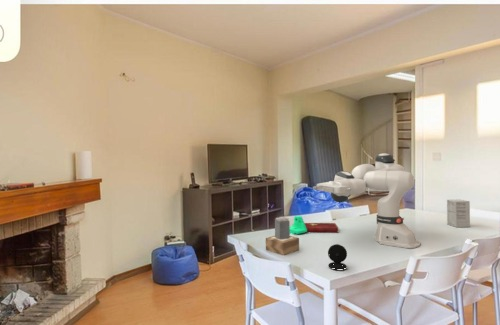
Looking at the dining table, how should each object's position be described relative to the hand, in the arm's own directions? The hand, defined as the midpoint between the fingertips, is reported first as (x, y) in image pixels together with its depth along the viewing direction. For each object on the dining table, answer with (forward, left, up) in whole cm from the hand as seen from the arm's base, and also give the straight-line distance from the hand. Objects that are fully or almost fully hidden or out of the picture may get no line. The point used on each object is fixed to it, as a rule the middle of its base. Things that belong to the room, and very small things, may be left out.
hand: (319, 189), depth 161 cm
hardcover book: (+18, -27, -31) cm, 45 cm away
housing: (+9, +20, -24) cm, 32 cm away
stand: (+9, +20, -30) cm, 37 cm away
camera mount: (+26, -12, -30) cm, 42 cm away
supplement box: (-39, -100, -30) cm, 111 cm away
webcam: (-24, +22, -30) cm, 45 cm away
